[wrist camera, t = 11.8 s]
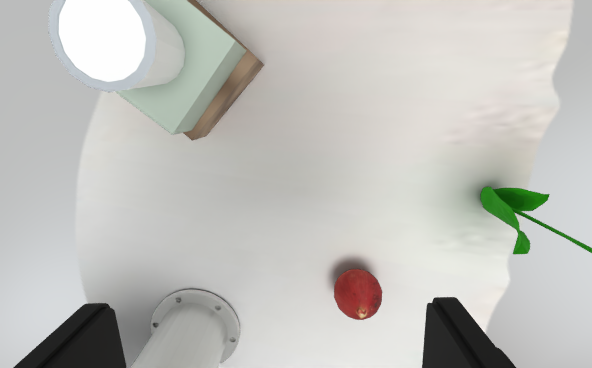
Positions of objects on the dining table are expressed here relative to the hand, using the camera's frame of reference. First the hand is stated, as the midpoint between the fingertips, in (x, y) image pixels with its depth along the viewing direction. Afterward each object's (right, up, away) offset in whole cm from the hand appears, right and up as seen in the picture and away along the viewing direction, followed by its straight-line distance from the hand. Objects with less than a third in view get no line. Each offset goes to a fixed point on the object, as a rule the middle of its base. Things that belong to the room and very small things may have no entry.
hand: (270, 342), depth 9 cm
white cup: (-11, +16, +17) cm, 26 cm away
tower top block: (-11, +17, +22) cm, 30 cm away
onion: (+9, -8, +33) cm, 35 cm away
